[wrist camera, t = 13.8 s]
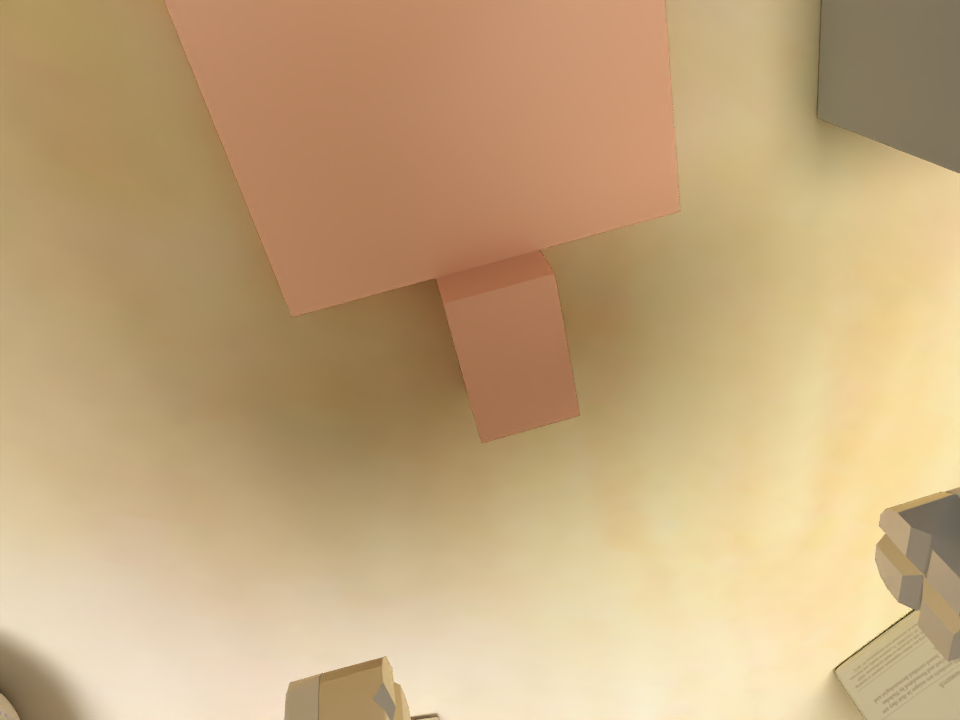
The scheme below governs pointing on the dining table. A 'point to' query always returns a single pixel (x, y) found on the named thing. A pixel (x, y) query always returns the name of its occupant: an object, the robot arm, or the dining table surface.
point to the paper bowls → (7, 710)
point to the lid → (443, 158)
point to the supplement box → (902, 677)
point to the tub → (894, 74)
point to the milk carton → (434, 719)
